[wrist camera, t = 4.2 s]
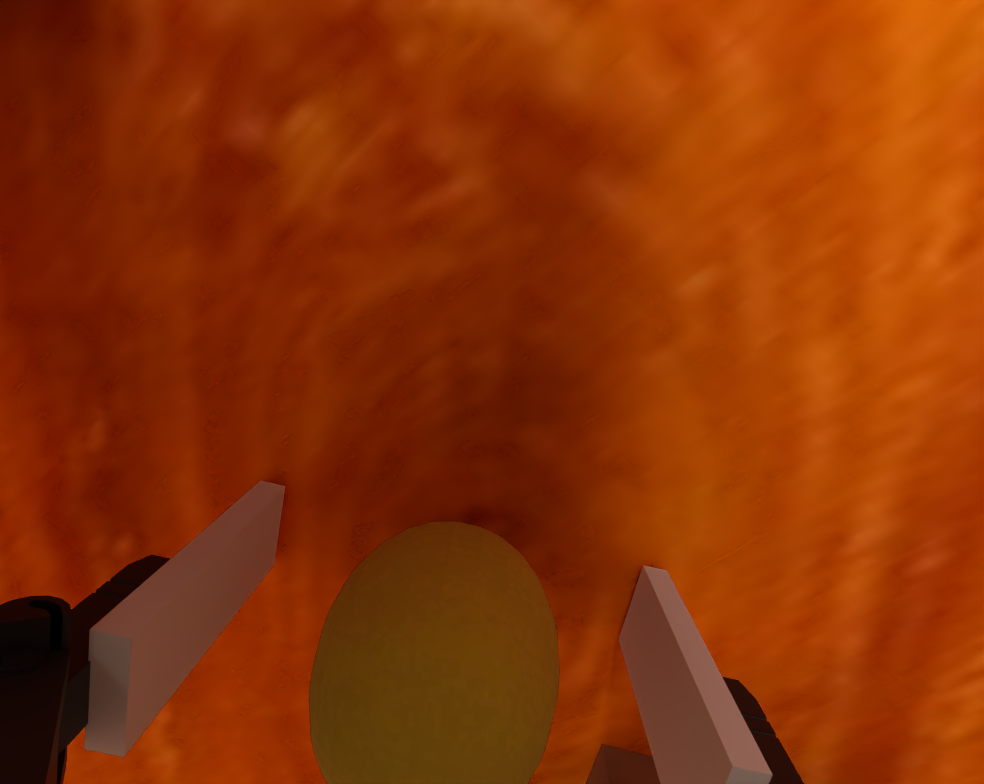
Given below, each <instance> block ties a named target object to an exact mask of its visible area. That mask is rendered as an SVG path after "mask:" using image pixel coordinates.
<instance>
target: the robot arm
mask: <svg viewBox="0 0 984 784" xmlns="http://www.w3.org/2000/svg"><path fill="white" fill-rule="evenodd" d="M284 492H285V486H283V485H279V484H274V483H269V482H265V481H259V482H258V483H257V484H256V485H255V486H254V487H253V488H251V489H250V490H249V491H248V492H247V493H246V494H245V495H243V496H242V497H241V498H240V499H239V500H238V501H237V502H235V503H234V504H233V505H232V506H231V507H230V508H228V509H227V510H226V511H225V512H224V513H223V514H222V515H220V516H219V517H218V518H217V519H216V520H215V521H214V522H212V523H211V524H210V525H209V526H208V527H207V528H206V529H204V530H203V531H202V532H201V533H200V534H199V535H197V536H196V537H195V538H194V539H193V540H192V541H191V542H189V543H188V544H187V545H186V546H185V547H184V548H183V549H181V550H180V551H179V552H178V553H177V554H176V555H175V556H173V557H172V558H171V559H169V558H164V557H160V556H155V555H150V556H148V557H145V558H143V559H141V560H138V561H136V562H134V563H131V564H129V565H127V566H126V567H125V568H124V569H122V570H121V571H120V572H119V573H117V574H116V575H115V576H114V577H112V578H111V580H110V582H109V581H107V582H106V583H105V584H103V585H102V586H101V587H100V588H98V589H97V591H96V593H92V594H91V595H89V596H88V597H87V598H86V599H84V600H83V601H82V602H81V603H79V604H78V605H77V606H76V607H74V608H73V609H72V610H71V608H70V604H68V603H67V602H66V601H64V600H63V599H61V598H57V597H52V596H29V597H25V598H20V599H15V600H11V601H9V602H6V603H4V604H1V605H0V784H63V780H64V774H65V768H66V761H67V746H68V744H69V743H70V742H71V741H72V740H73V739H74V738H75V737H76V736H77V735H78V734H79V732H80V731H81V730H82V729H83V728H84V727H85V726H86V727H85V749H86V750H91V751H96V752H101V753H105V754H110V755H115V756H120V757H125V755H126V754H127V753H128V752H129V750H130V749H131V748H132V746H133V745H134V744H135V743H136V741H137V740H138V739H139V737H140V736H141V735H142V734H143V732H144V731H145V730H146V729H147V727H148V726H149V725H150V723H151V722H152V721H153V720H154V718H155V717H156V716H157V714H158V713H159V712H160V711H161V709H162V708H163V707H164V705H165V704H166V703H167V702H168V700H169V699H170V698H171V696H172V695H173V694H174V693H175V691H176V690H177V689H178V687H179V686H180V685H181V684H182V682H183V681H184V680H185V679H186V677H187V676H188V675H189V673H190V672H191V671H192V670H193V668H194V667H195V666H196V664H197V663H198V662H199V661H200V659H201V658H202V657H203V655H204V654H205V653H206V652H207V650H208V649H209V648H210V646H211V645H212V644H213V643H214V641H215V640H216V639H217V638H218V636H219V635H220V634H221V632H222V631H223V630H224V629H225V627H226V626H227V625H228V623H229V622H230V621H231V620H232V618H233V617H234V616H235V614H236V613H237V612H238V611H239V609H240V608H241V607H242V605H243V604H244V603H245V602H246V600H247V599H248V598H249V597H250V595H251V594H252V593H253V591H254V590H255V589H256V588H257V586H258V585H259V584H260V582H261V581H262V580H263V579H264V577H265V576H266V575H267V573H268V572H269V571H270V570H271V568H272V567H273V566H274V564H275V557H276V550H277V543H278V536H279V528H280V521H281V514H282V507H283V500H284ZM618 640H619V643H620V647H621V650H622V653H623V657H624V660H625V664H626V667H627V671H628V674H629V677H630V681H631V684H632V688H633V691H634V695H635V698H636V702H637V705H638V708H639V712H640V715H641V719H642V722H643V726H644V729H645V732H646V736H647V739H648V743H649V746H650V750H651V753H652V757H653V760H654V763H655V767H656V770H657V774H658V777H659V781H660V784H804V783H803V781H802V780H801V778H800V776H799V774H798V772H797V771H796V769H795V767H794V765H793V764H792V762H791V760H790V758H789V757H788V755H787V753H786V751H785V750H784V748H783V746H782V744H781V742H780V741H779V739H778V738H776V736H775V735H776V734H775V732H774V730H773V728H772V727H771V725H770V723H769V722H767V720H766V719H767V718H766V716H765V714H764V713H763V711H762V709H761V707H760V705H759V704H758V702H757V700H756V699H755V698H754V696H753V695H752V694H751V693H750V692H749V691H748V690H747V689H746V688H745V687H744V686H743V685H742V684H741V683H740V682H739V681H738V680H734V679H729V678H725V677H722V676H721V674H720V672H719V670H718V668H717V666H716V664H715V662H714V660H713V658H712V656H711V654H710V652H709V650H708V649H707V647H706V645H705V643H704V641H703V639H702V637H701V635H700V633H699V631H698V629H697V627H696V625H695V623H694V621H693V619H692V617H691V616H690V614H689V612H688V610H687V608H686V606H685V604H684V602H683V600H682V598H681V596H680V594H679V592H678V590H677V588H676V586H675V585H674V583H673V581H672V579H671V577H670V575H669V573H668V571H667V570H663V569H659V568H654V567H650V566H645V565H643V567H642V570H641V573H640V576H639V579H638V582H637V585H636V588H635V591H634V594H633V597H632V600H631V603H630V606H629V609H628V612H627V615H626V618H625V621H624V624H623V627H622V630H621V633H620V636H619V639H618Z"/></svg>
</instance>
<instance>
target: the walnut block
mask: <svg viewBox="0 0 984 784" xmlns="http://www.w3.org/2000/svg"><path fill="white" fill-rule="evenodd" d="M586 784H660V781H659V777H658V774H657V770H656V767H655V763H654V760H653V757H652V756H648V755H644V754H640V753H636V752H632V751H628V750H624V749H620V748H617V747H613V746H609V745H605V744H602V745H601V748H600V750H599V753H598V755H597V757H596V760H595V762H594V765H593V767H592V770H591V772H590V775H589V777H588V780H587V782H586Z"/></svg>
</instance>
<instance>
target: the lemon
mask: <svg viewBox="0 0 984 784" xmlns="http://www.w3.org/2000/svg"><path fill="white" fill-rule="evenodd" d="M558 688H559V655H558V640H557V630H556V624H555V620H554V616H553V613H552V610H551V607H550V605H549V602H548V599H547V597H546V594H545V591H544V589H543V586H542V584H541V582H540V580H539V578H538V577H537V575H536V573H535V572H534V571H533V569H532V568H531V566H530V565H529V564H528V562H527V561H526V559H525V558H524V557H523V555H522V554H521V553H520V552H519V551H518V550H516V549H515V548H514V547H513V546H512V545H510V544H509V543H508V542H507V541H506V540H504V539H503V538H502V537H501V536H499V535H496V534H494V533H492V532H490V531H488V530H486V529H484V528H482V527H480V526H476V525H471V524H467V523H462V522H458V521H433V522H429V523H425V524H421V525H417V526H413V527H410V528H408V529H406V530H404V531H402V532H400V533H398V534H396V535H394V536H393V537H391V538H389V539H387V540H385V541H384V542H383V543H381V544H380V545H379V546H378V547H377V548H376V549H374V550H373V551H372V552H371V553H370V554H369V555H368V556H367V557H366V558H365V559H364V560H362V561H361V562H360V564H359V565H358V566H357V567H356V568H355V569H354V570H353V572H352V573H351V575H350V576H349V578H348V579H347V581H346V583H345V584H344V586H343V588H342V589H341V591H340V593H339V594H338V596H337V598H336V599H335V601H334V603H333V605H332V606H331V608H330V610H329V613H328V615H327V617H326V620H325V623H324V626H323V629H322V632H321V636H320V640H319V644H318V648H317V652H316V656H315V660H314V664H313V669H312V674H311V681H310V690H309V713H310V733H311V741H312V745H313V749H314V753H315V756H316V759H317V761H318V764H319V767H320V769H321V772H322V775H323V777H324V779H325V780H326V782H327V784H527V783H528V782H529V780H530V778H531V777H532V775H533V773H534V771H535V770H536V768H537V766H538V765H539V763H540V760H541V758H542V755H543V753H544V751H545V747H546V744H547V740H548V737H549V733H550V728H551V724H552V720H553V716H554V712H555V707H556V702H557V696H558Z"/></svg>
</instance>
